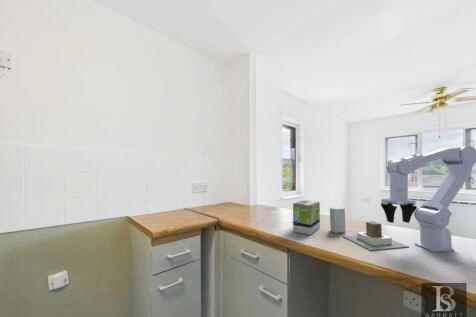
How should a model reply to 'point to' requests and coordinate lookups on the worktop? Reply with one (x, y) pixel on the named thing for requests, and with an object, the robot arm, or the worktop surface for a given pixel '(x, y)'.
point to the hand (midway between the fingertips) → (398, 222)
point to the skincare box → (337, 219)
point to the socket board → (375, 242)
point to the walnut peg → (373, 229)
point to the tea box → (306, 216)
